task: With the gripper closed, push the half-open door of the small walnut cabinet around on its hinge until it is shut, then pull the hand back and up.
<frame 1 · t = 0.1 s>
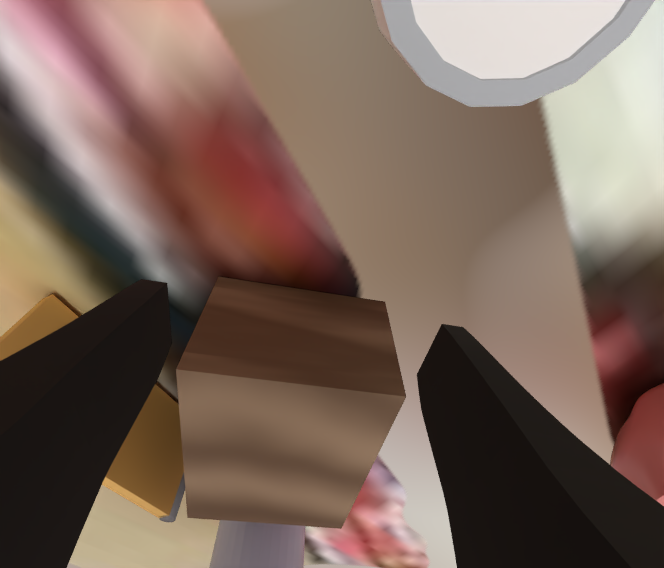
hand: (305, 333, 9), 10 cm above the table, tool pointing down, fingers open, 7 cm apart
cabinet door: (113, 415, 22), point 4 cm above the table, hinge at 36.0°
cabinet: (289, 368, 25), on the table
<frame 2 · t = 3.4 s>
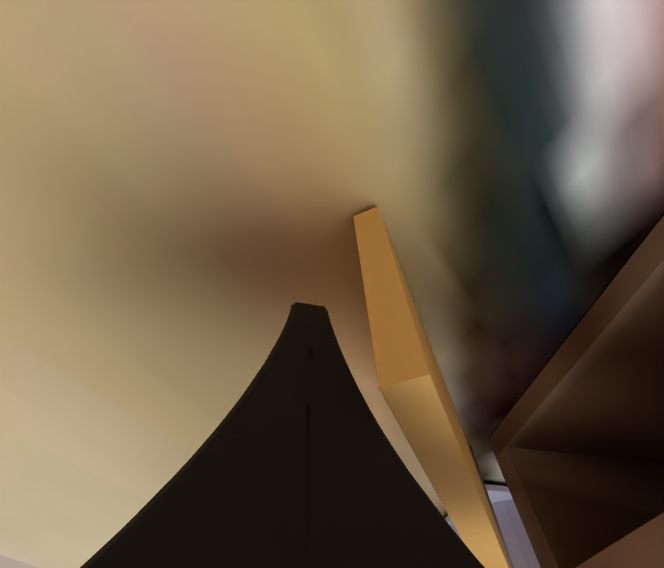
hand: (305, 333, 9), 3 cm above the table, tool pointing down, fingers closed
cabinet door: (450, 437, 12), point 4 cm above the table, hinge at 35.0°, touching gripper
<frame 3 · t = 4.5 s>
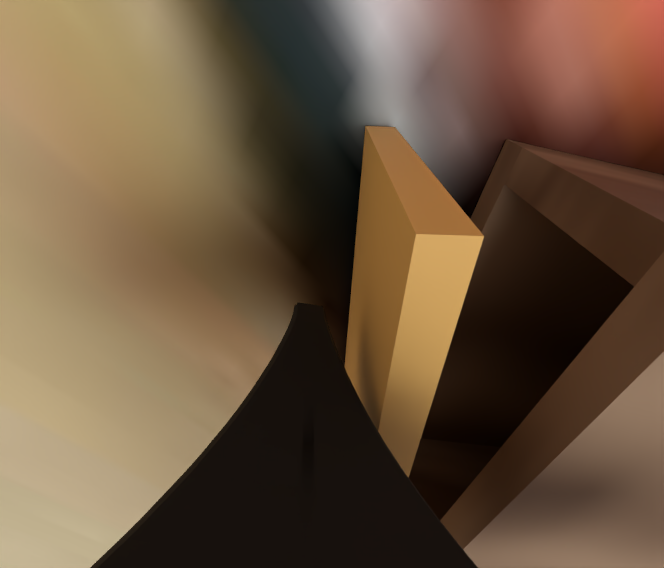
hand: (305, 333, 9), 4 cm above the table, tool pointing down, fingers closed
cabinet door: (365, 402, 11), point 4 cm above the table, hinge at 9.2°, touching gripper
cabinet: (538, 340, 14), on the table
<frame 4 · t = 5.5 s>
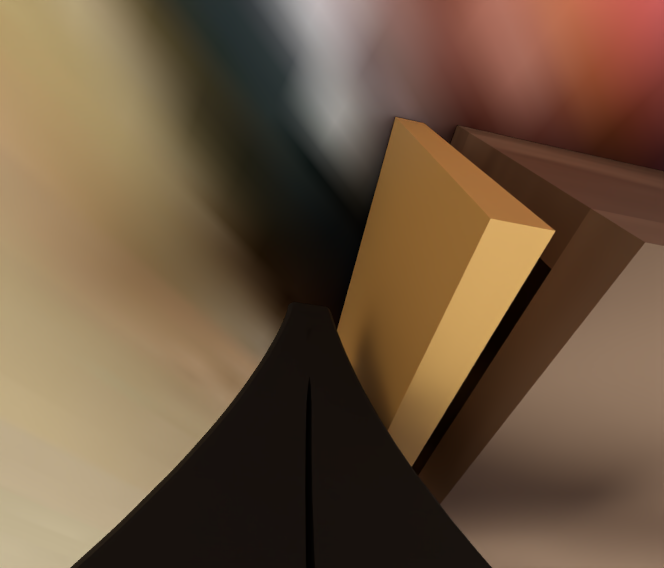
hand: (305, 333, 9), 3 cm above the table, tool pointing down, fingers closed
cabinet door: (354, 397, 11), point 4 cm above the table, hinge at 0.0°, touching gripper
cabinet: (505, 334, 14), on the table
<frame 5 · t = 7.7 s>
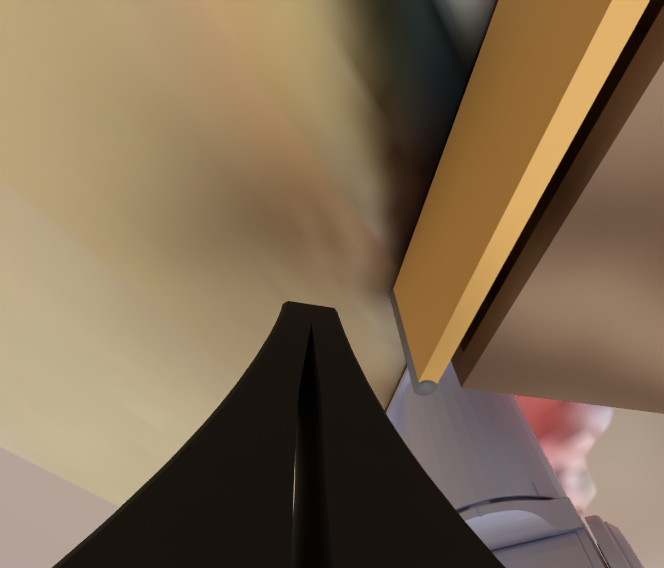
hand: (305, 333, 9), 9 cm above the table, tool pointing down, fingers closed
cabinet door: (466, 202, 14), point 4 cm above the table, hinge at 0.0°
cabinet: (570, 189, 17), on the table
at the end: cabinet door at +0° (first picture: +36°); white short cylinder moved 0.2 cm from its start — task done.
